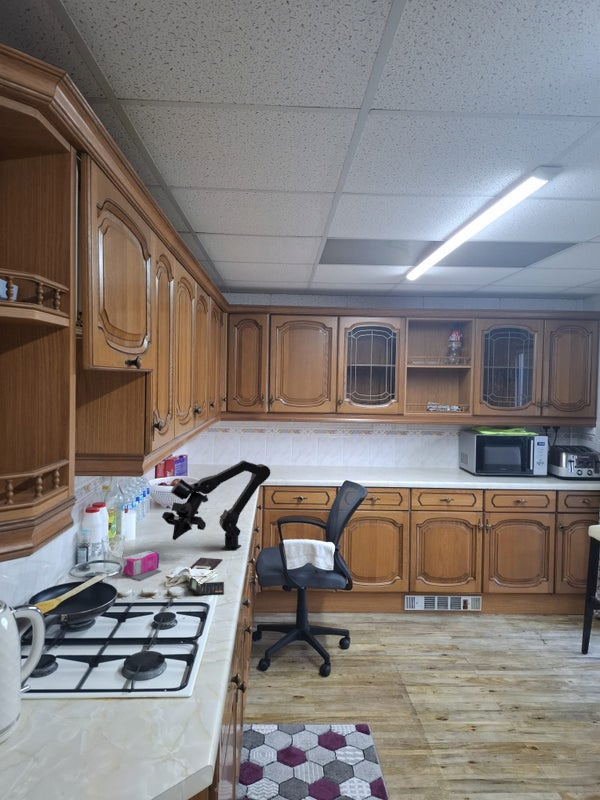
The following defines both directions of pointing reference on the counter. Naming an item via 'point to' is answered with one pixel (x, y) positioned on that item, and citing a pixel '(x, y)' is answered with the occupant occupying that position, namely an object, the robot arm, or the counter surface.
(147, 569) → the supplement box
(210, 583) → the calculator
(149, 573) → the mat
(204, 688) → the counter surface
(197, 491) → the robot arm
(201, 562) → the chocolate bar
